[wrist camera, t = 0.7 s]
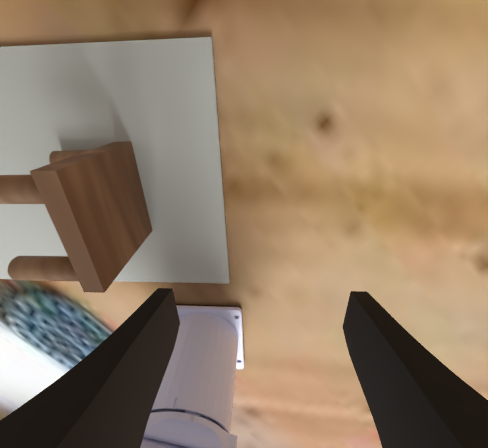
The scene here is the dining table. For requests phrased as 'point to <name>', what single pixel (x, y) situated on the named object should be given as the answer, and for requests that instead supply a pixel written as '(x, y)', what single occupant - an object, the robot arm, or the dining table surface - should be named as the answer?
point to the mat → (121, 130)
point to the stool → (84, 214)
